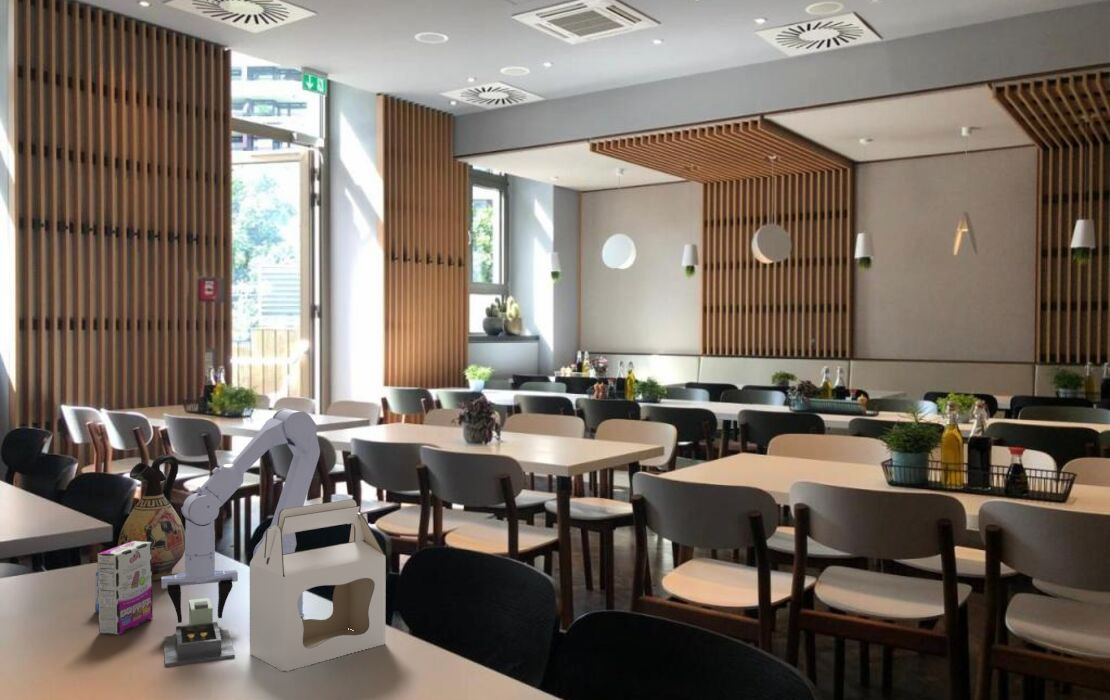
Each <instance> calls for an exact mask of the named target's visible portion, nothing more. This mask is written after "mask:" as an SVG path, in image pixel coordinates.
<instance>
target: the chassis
mask: <svg viewBox="0 0 1110 700" xmlns="http://www.w3.org/2000/svg"><path fill="white" fill-rule="evenodd" d="M163 652H164V655H163V656H164V667H165V668H167V667H174V666H181V665H188V664H196V663H197V664H199V663H205V662H206V663H207V662H213V661H220V660H228V659H235V658H236V654H235V650H234V647H233V643H232V640H231V635H230V631H229V628H228V629H227V628H225V629H220V628H219V624H218V621H214V622H212V623H203V624H194V625H189V624H184V625H177V626H175V635H167V636H166V635H165V636H163Z"/></svg>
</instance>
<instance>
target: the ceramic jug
mask: <svg viewBox="0 0 1110 700" xmlns="http://www.w3.org/2000/svg"><path fill="white" fill-rule="evenodd" d="M151 463H152V464H151V466H150V465H149V464H146V463H144V462H139V463H137V464H135V466H132V468H131V471H130V472H129V478H130V479H133V480H136V481H139V482H142V483H144V484H145V485H146V488H145V491H144V493H143V495H142V497H141V498H140V499H139V500H138V501H137V503H136V504H135V505H134V506H133V508H132V510H131V512H130V513H129V515H128V517H127V518H126V519H125V521H124V524H123V525H122V528H121V531H120V533H119V537H118V540H117V541H118V542H117V547H118V546H120V545H123V544H126V543H129V542H131V541H143V542H151V565H152V580H153V581H156V580H161V577H164V576H172V572H173V569H174V568H175V567H176V565H177V564H178V563H179V562H180V560H181V559H183V556H184V555H185V528H184V525H183V523H182V520H181V518H180V516H179V515H178V513H177V512H176V510H175V509H174V507H173V505H172V499H171V498H172V491H173V489H174V486H175V485H174V484H175V482H176V479H177V475H178V473H179V462H178V459H177V458H176V457H175V456H174V455H172V454H161V455H159V456H156V458H155V459H153V461H152V462H151ZM163 464H169V467H170V468H169V471H168V474H167V477H166V476H165V473H163V471H162V470H161V469H160V468H161V466H162V465H163ZM164 481H166V483H165V484H164V487H163V489H162V486H161V483H162V482H164Z"/></svg>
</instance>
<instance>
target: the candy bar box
mask: <svg viewBox="0 0 1110 700" xmlns="http://www.w3.org/2000/svg"><path fill="white" fill-rule="evenodd" d="M96 561H97V572H98V602H99V603H98V604H99V612H98V633H99V634H102V635H117V636H120V635H122V634H123V633H125V632H128V631H130V630H132V629H134V628H137V626H140V625H142V624H143V623H146V622H147V621H150V620H151V619H153V618H154V615H153V614H154V613H153V581H152V565H151V542H143V541H131V542H129V543H126V544H123V545H120V546H118V545H117V546H115V547H112V548H110V549H107V550H104V551H102V552H98V553H97V559H96Z"/></svg>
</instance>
